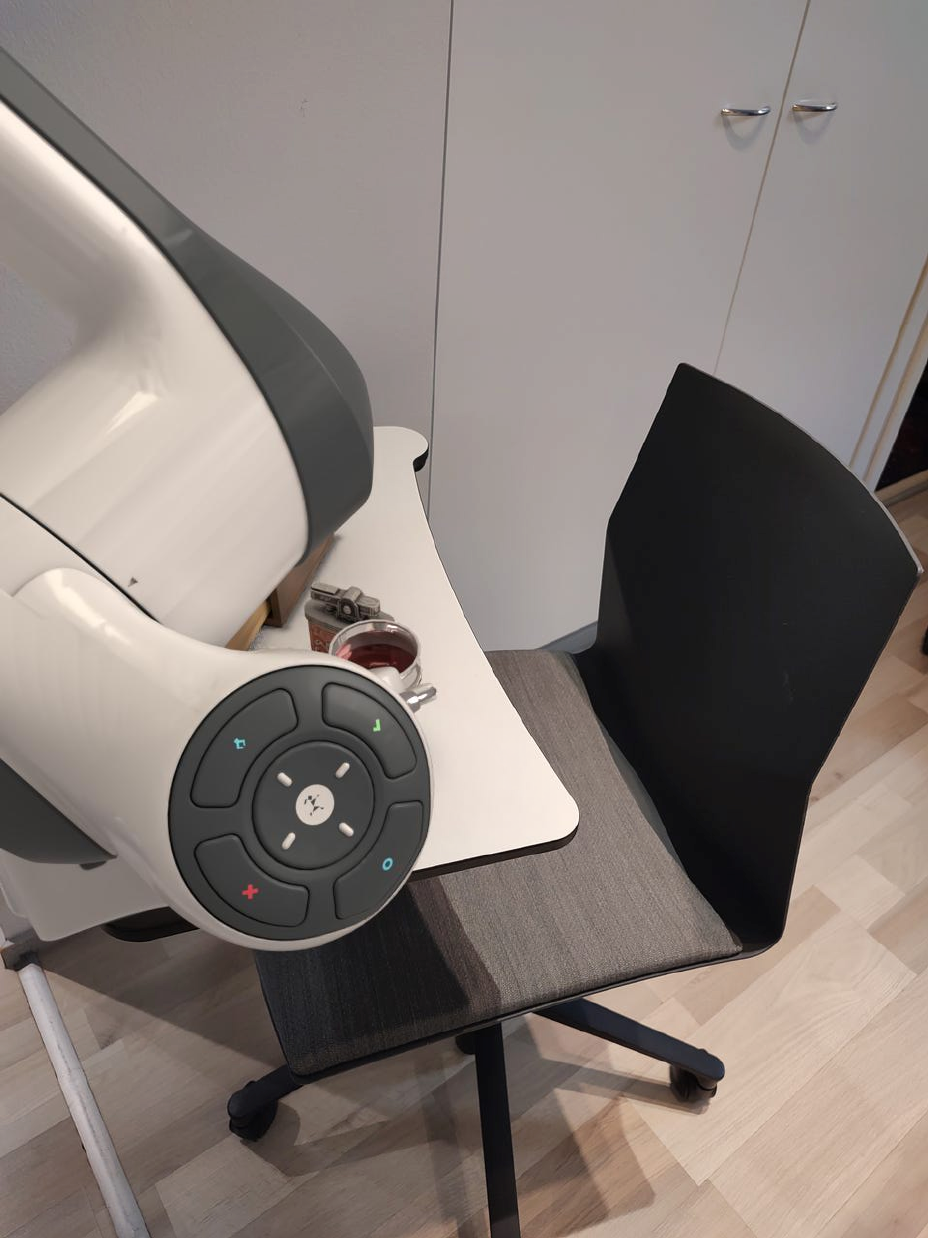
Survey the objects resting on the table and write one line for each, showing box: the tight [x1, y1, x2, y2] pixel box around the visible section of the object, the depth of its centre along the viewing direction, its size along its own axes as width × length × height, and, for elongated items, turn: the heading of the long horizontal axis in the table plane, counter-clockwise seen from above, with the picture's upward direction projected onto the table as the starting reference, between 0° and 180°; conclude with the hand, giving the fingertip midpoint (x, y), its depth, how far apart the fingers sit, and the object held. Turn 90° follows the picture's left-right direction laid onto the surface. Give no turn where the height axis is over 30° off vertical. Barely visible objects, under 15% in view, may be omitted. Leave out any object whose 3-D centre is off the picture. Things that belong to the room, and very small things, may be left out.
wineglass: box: [328, 619, 423, 689], centre depth 68 cm, size 7×7×12 cm
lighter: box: [303, 580, 396, 654], centre depth 75 cm, size 8×3×10 cm, turn 69°
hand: (198, 766), depth 49 cm, fingers open, 8 cm apart
